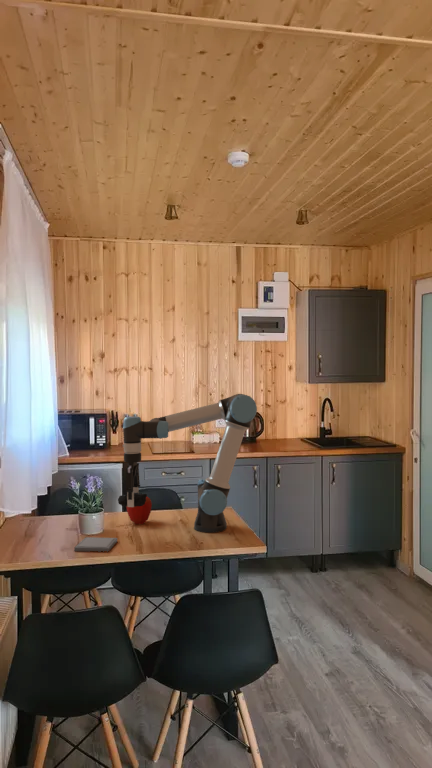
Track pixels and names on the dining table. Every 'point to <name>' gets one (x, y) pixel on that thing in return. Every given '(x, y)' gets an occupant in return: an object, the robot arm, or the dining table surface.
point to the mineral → (138, 499)
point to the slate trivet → (96, 544)
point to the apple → (140, 512)
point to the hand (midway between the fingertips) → (133, 504)
